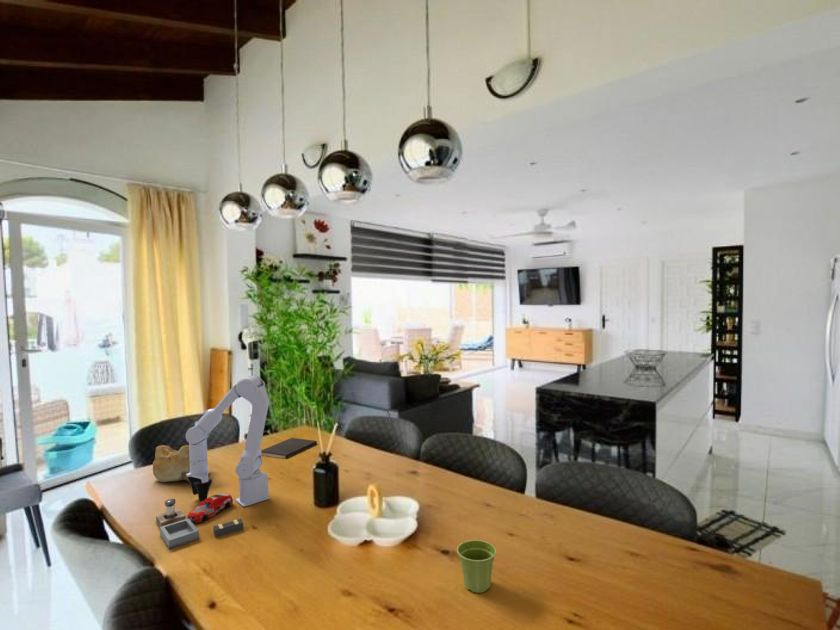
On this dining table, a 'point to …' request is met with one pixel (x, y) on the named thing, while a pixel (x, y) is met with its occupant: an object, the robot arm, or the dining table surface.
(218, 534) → the wheel stop
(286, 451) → the hardcover book
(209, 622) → the dining table surface
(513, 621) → the dining table surface
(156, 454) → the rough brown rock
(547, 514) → the dining table surface
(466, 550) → the plant pot
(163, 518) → the pin holder
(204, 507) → the race car
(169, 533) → the tray
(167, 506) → the pin
